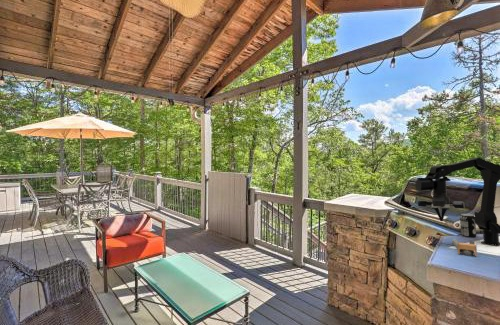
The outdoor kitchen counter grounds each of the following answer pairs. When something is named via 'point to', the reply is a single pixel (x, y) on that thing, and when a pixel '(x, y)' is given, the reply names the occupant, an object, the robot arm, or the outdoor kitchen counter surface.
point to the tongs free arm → (456, 244)
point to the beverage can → (468, 225)
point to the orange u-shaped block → (467, 247)
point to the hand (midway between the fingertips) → (441, 221)
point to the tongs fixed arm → (468, 252)
